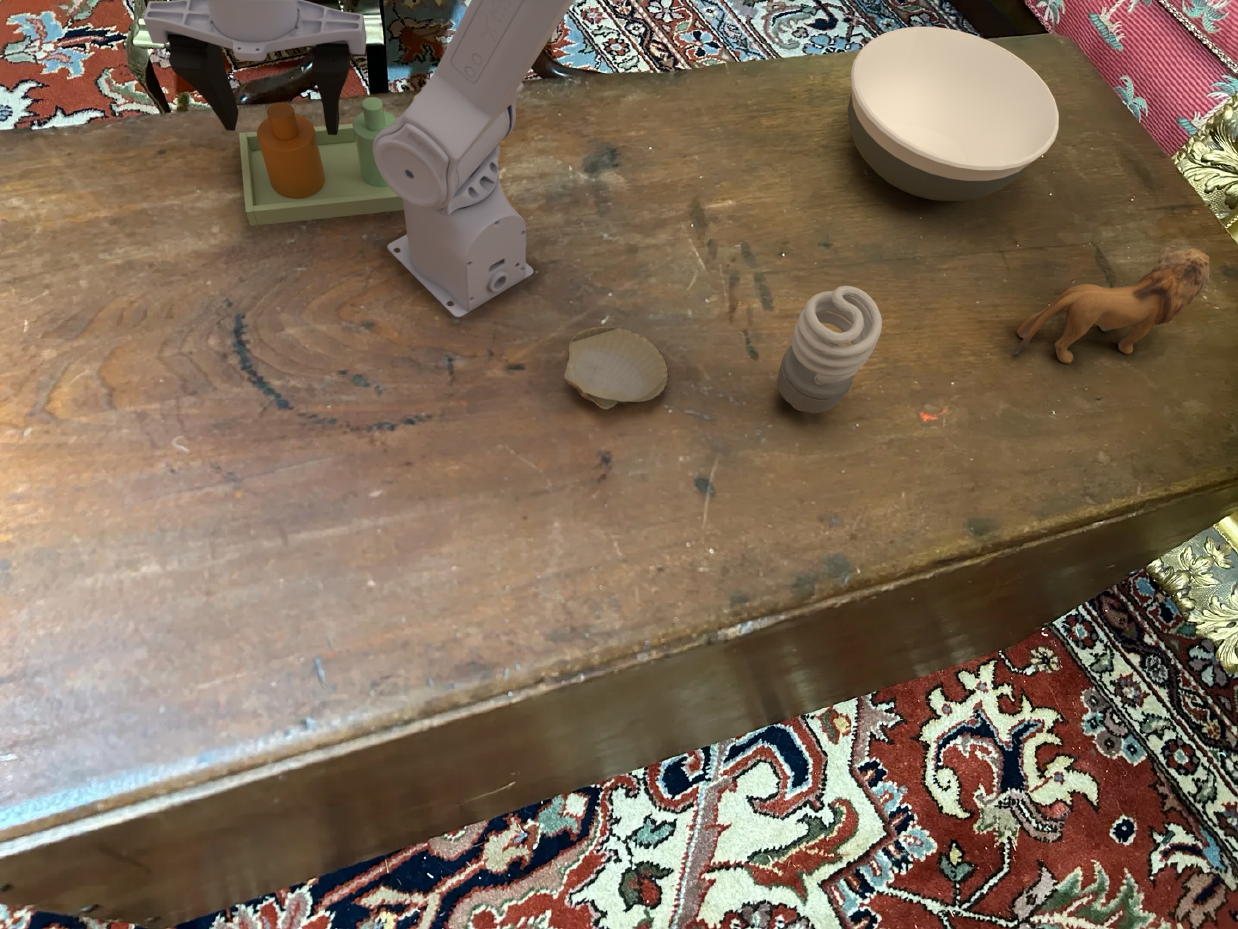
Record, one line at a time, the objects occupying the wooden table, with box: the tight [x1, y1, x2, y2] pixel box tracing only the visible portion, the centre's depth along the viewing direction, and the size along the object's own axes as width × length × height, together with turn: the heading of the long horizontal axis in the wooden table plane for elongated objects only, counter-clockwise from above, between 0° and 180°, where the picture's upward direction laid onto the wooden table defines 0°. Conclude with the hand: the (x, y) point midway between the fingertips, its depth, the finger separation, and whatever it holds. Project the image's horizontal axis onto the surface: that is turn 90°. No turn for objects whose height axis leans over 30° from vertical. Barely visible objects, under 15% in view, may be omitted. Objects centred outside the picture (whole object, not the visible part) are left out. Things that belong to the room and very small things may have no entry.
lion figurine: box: [1011, 247, 1211, 364], centre depth 73 cm, size 15×5×9 cm, turn 110°
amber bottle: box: [256, 102, 325, 199], centre depth 73 cm, size 4×4×7 cm
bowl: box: [846, 26, 1060, 202], centre depth 83 cm, size 19×19×8 cm
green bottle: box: [352, 96, 397, 187], centre depth 74 cm, size 4×4×7 cm
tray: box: [238, 123, 404, 227], centre depth 77 cm, size 19×9×2 cm, turn 105°
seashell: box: [563, 325, 669, 411], centre depth 69 cm, size 8×3×8 cm
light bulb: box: [776, 285, 883, 414], centre depth 66 cm, size 6×6×12 cm
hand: (283, 124), depth 71 cm, fingers open, 7 cm apart
